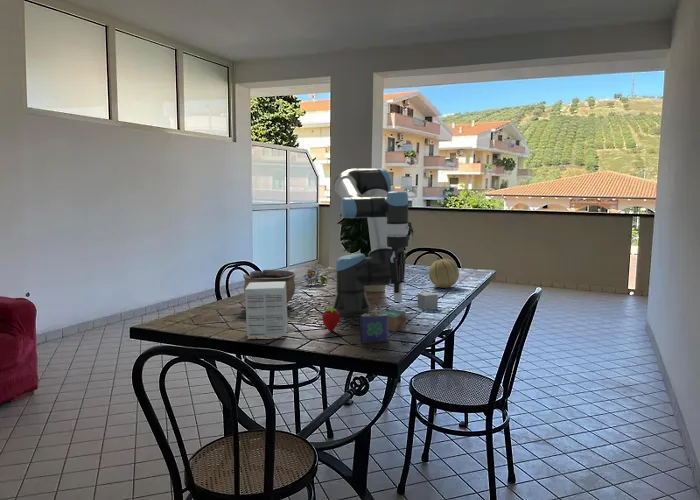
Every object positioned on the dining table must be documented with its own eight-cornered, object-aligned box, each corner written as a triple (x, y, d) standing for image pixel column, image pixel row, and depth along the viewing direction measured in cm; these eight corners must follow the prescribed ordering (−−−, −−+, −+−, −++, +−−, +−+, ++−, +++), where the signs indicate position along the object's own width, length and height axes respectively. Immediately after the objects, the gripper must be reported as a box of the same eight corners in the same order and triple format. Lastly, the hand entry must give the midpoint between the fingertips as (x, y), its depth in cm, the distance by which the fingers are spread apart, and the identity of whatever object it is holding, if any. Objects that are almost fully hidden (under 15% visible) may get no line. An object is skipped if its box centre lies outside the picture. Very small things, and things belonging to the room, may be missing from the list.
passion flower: (310, 296, 267) (297, 278, 267) (320, 288, 277) (306, 271, 277) (325, 285, 262) (311, 267, 262) (334, 278, 271) (320, 260, 271)
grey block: (424, 310, 208) (424, 295, 207) (417, 307, 214) (417, 293, 213) (437, 308, 210) (437, 294, 209) (430, 305, 216) (430, 291, 215)
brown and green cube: (405, 311, 181) (405, 328, 182) (392, 309, 185) (392, 325, 186) (394, 314, 177) (394, 331, 177) (381, 311, 181) (381, 328, 182)
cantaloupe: (459, 290, 246) (459, 260, 244) (428, 290, 248) (428, 259, 247) (458, 285, 260) (458, 256, 259) (429, 284, 263) (428, 256, 261)
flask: (388, 340, 167) (387, 308, 166) (389, 342, 164) (389, 310, 163) (360, 341, 166) (359, 309, 165) (361, 344, 164) (360, 311, 162)
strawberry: (344, 330, 180) (343, 302, 179) (334, 335, 173) (333, 307, 172) (329, 328, 183) (328, 301, 181) (318, 334, 176) (318, 305, 175)
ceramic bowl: (268, 300, 233) (266, 267, 231) (306, 304, 222) (305, 270, 220) (233, 310, 214) (232, 275, 213) (274, 316, 203) (272, 278, 201)
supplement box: (251, 330, 183) (249, 282, 181) (288, 328, 184) (286, 280, 182) (246, 340, 170) (243, 289, 168) (286, 339, 171) (284, 287, 169)
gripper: (401, 237, 172) (402, 306, 175) (413, 234, 184) (413, 298, 187) (380, 237, 175) (381, 304, 178) (393, 233, 187) (394, 296, 190)
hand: (397, 301), depth 183 cm, fingers closed
